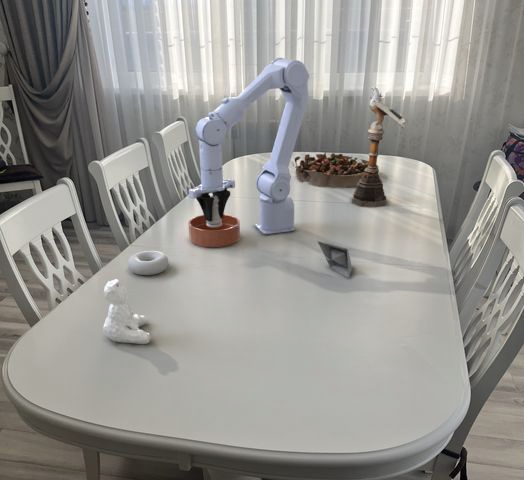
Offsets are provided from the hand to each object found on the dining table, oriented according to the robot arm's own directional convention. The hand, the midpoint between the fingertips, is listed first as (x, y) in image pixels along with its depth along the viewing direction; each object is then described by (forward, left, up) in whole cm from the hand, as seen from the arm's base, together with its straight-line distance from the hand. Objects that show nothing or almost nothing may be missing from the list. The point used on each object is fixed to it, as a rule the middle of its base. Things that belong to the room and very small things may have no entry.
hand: (214, 218), depth 150 cm
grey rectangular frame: (-22, +30, -6) cm, 38 cm away
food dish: (-62, -50, -6) cm, 80 cm away
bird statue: (-60, -15, -6) cm, 62 cm away
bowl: (0, 0, -6) cm, 6 cm away
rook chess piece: (0, 0, -2) cm, 2 cm away
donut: (+21, +14, -6) cm, 26 cm away
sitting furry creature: (+31, +45, -6) cm, 55 cm away
